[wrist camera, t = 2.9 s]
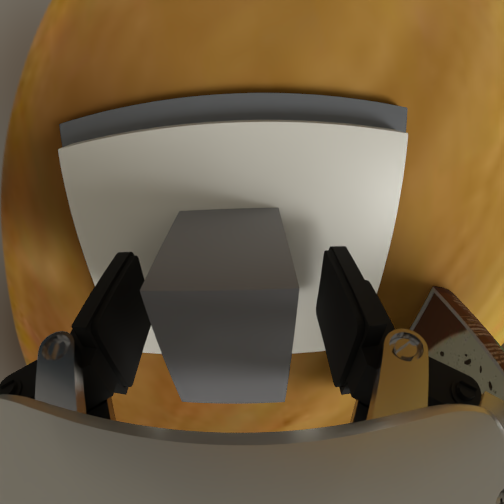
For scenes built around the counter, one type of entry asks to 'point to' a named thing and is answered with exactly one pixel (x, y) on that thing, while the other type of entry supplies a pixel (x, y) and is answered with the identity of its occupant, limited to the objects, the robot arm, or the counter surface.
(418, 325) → the food container
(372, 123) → the mat
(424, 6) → the counter surface
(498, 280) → the counter surface
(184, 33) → the counter surface
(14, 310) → the counter surface
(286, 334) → the lid
